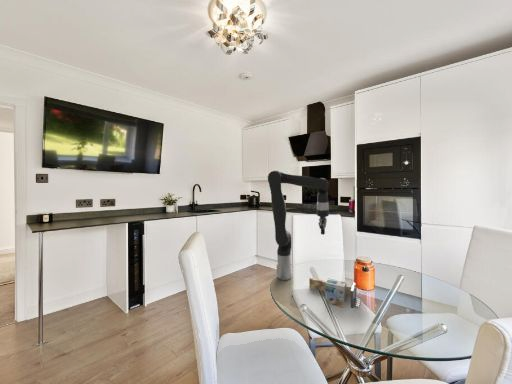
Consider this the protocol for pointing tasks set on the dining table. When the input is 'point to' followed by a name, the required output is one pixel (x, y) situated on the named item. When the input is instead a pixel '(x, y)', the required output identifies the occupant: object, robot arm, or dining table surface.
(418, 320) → the dining table surface
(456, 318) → the dining table surface
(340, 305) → the shelf
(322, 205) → the robot arm
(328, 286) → the light bulb box
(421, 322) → the dining table surface
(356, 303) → the bookend
